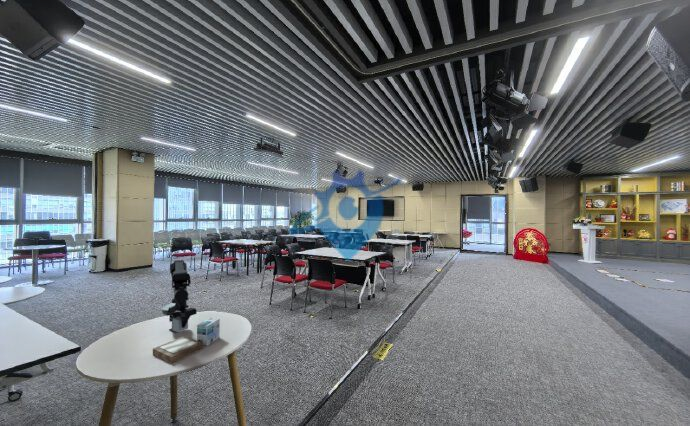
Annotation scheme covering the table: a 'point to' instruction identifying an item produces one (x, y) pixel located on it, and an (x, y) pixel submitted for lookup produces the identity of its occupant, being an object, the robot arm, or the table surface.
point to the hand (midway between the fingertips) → (180, 326)
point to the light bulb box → (208, 331)
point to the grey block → (178, 325)
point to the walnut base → (177, 349)
